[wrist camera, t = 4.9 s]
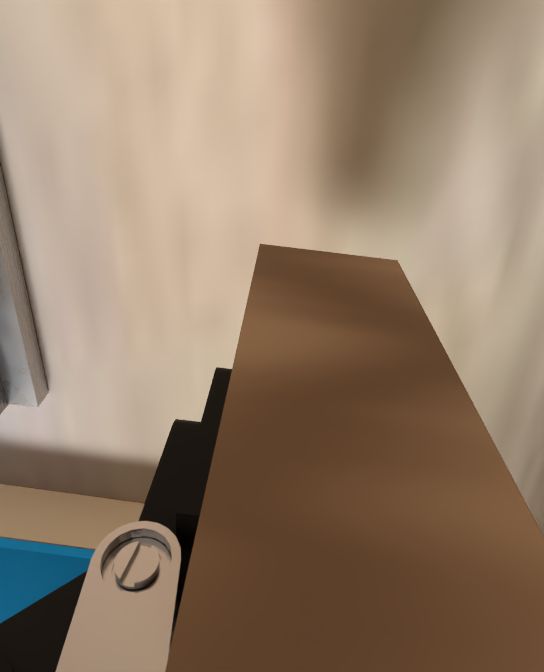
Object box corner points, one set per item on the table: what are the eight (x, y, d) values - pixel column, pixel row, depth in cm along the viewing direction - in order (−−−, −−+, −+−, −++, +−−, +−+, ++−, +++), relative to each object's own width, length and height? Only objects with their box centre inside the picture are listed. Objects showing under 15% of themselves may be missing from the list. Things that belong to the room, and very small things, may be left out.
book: (140, 562, 22) (141, 746, 35) (161, 490, 26) (156, 681, 38) (-224, 518, 21) (-83, 723, 34) (-147, 450, 25) (-47, 659, 38)
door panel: (397, 260, 10) (642, 725, 3) (332, 504, 14) (367, 935, 7) (259, 243, 10) (164, 676, 3) (235, 492, 14) (173, 915, 7)
